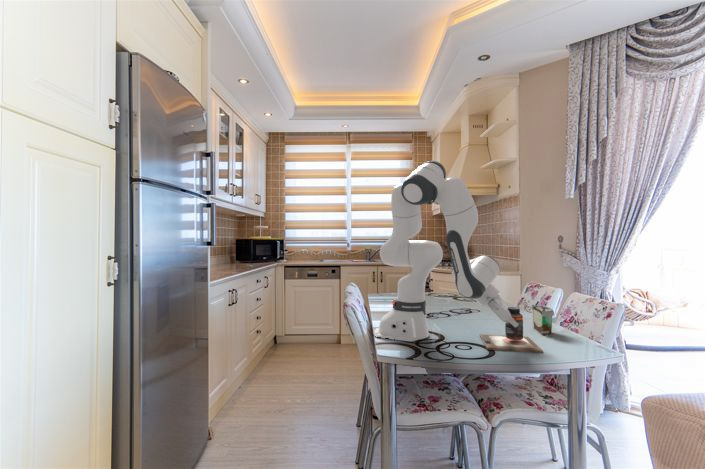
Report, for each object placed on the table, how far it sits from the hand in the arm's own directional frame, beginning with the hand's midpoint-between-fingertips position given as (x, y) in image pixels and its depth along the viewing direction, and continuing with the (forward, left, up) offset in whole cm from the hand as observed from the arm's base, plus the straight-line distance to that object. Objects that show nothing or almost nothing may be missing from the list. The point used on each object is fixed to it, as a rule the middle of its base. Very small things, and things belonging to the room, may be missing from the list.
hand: (515, 323), depth 120 cm
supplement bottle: (-1, 0, -6) cm, 6 cm away
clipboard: (-3, 0, -8) cm, 8 cm away
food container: (+16, +19, -8) cm, 26 cm away
